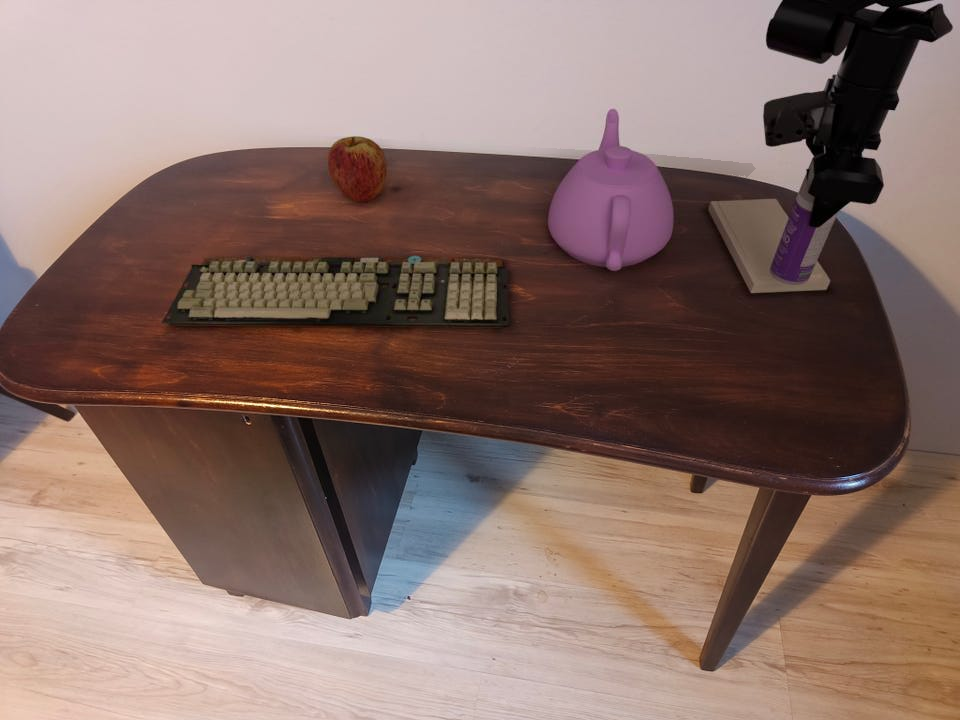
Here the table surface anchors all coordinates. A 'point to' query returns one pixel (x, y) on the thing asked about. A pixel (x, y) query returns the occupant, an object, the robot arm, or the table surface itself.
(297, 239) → the table surface
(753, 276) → the tile
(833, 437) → the table surface
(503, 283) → the keyboard
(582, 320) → the table surface
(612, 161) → the teapot
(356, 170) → the apple
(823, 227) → the container
